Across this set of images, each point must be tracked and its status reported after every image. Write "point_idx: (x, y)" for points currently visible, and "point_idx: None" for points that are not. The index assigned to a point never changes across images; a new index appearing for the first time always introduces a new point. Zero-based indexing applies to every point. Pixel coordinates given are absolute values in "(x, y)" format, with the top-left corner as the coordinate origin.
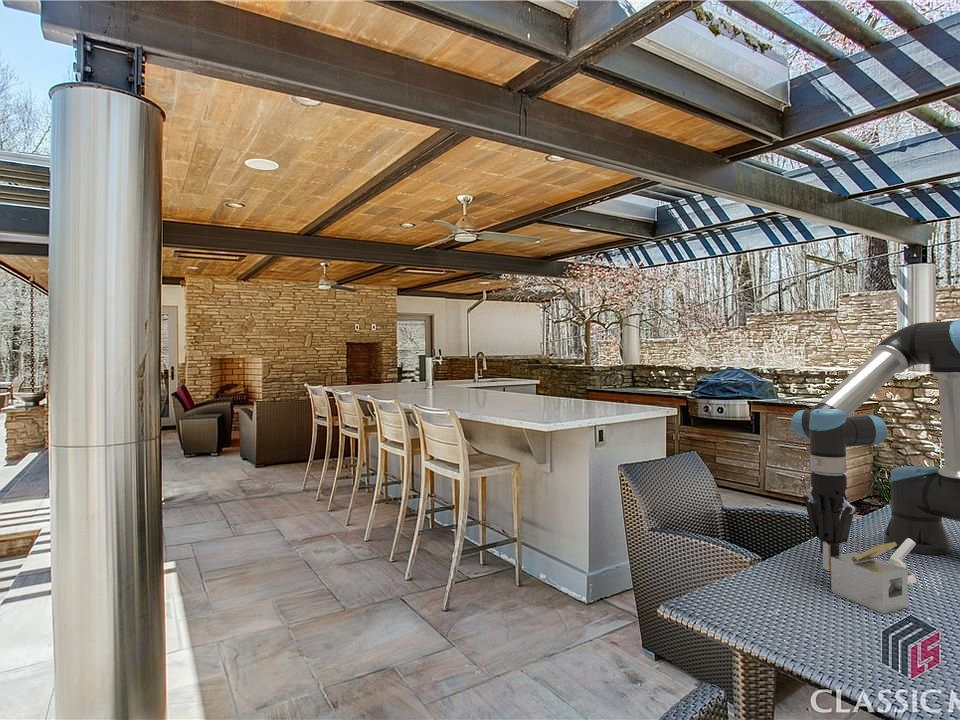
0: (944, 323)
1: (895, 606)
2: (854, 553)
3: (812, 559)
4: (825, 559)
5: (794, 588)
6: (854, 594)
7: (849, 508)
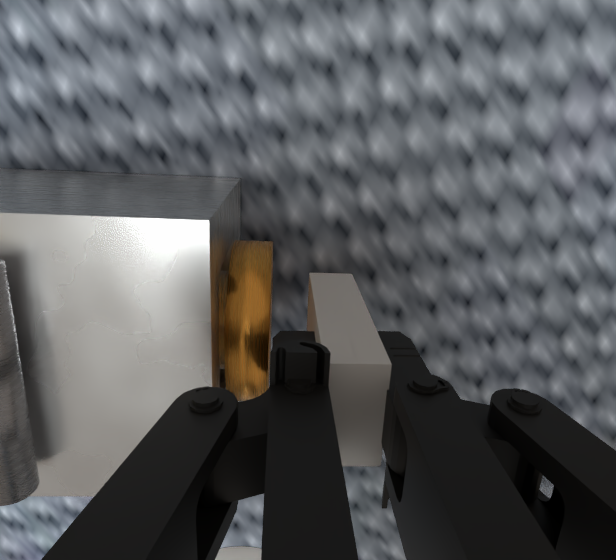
0: None
1: None
2: None
3: None
4: (341, 297)
5: (380, 23)
6: (80, 176)
7: None
